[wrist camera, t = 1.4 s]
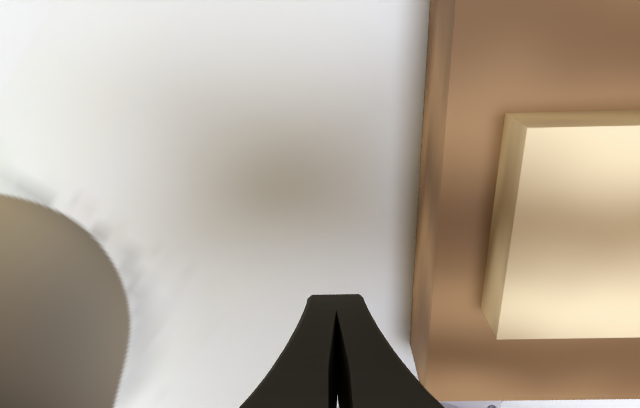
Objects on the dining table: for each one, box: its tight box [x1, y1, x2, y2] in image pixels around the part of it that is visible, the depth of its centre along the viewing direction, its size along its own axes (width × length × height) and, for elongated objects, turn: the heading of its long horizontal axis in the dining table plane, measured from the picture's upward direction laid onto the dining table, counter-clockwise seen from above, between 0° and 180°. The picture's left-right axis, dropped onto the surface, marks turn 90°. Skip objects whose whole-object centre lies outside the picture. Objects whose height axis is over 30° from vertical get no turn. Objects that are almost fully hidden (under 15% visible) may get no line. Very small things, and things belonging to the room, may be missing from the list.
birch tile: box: [481, 110, 640, 340], centre depth 18 cm, size 8×6×2 cm
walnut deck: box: [410, 0, 640, 401], centre depth 20 cm, size 18×12×4 cm, turn 1°
